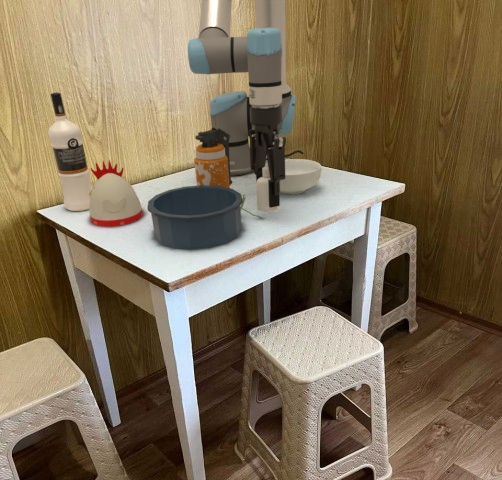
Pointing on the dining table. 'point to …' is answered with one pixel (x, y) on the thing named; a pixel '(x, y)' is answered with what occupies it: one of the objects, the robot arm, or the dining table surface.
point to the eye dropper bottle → (264, 191)
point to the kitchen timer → (113, 199)
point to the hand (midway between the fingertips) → (268, 202)
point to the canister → (213, 159)
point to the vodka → (70, 159)
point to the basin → (196, 216)
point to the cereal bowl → (299, 176)
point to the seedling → (244, 209)
